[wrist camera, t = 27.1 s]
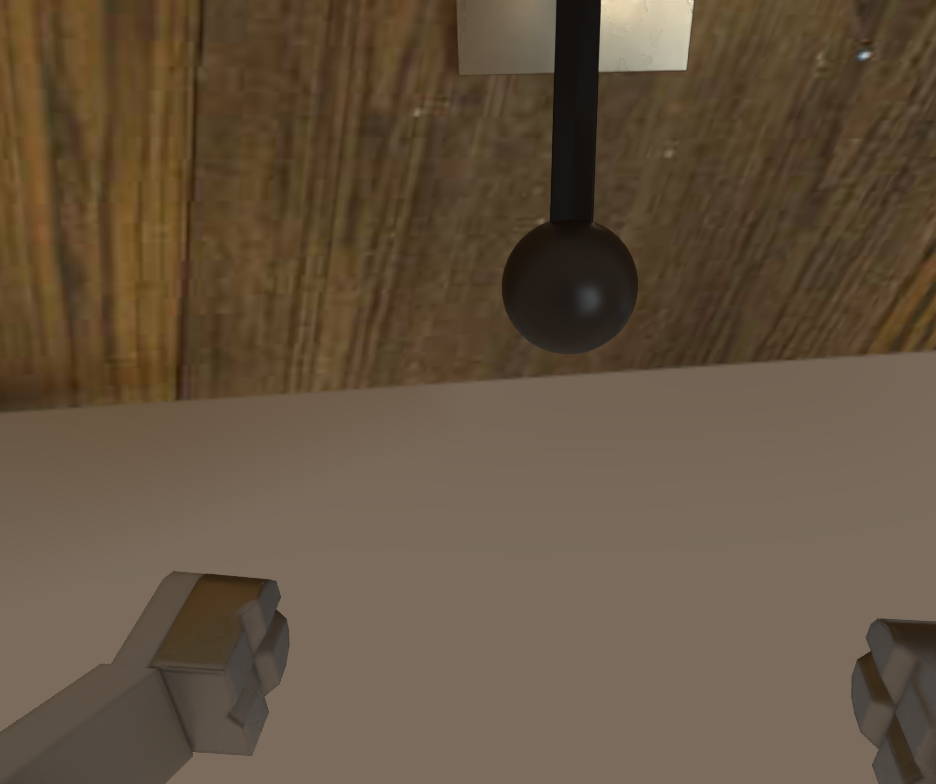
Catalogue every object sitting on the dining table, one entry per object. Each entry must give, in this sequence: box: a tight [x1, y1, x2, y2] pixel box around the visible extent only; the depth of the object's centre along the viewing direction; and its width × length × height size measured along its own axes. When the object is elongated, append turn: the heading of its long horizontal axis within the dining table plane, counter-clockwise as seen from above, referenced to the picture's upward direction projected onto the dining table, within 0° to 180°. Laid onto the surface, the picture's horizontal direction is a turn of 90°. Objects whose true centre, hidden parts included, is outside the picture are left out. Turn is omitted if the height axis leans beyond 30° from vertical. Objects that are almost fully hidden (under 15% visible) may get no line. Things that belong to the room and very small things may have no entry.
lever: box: [502, 0, 638, 354], centre depth 19 cm, size 13×4×4 cm, turn 2°
